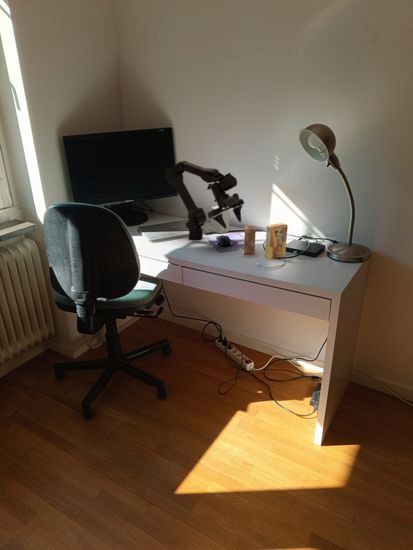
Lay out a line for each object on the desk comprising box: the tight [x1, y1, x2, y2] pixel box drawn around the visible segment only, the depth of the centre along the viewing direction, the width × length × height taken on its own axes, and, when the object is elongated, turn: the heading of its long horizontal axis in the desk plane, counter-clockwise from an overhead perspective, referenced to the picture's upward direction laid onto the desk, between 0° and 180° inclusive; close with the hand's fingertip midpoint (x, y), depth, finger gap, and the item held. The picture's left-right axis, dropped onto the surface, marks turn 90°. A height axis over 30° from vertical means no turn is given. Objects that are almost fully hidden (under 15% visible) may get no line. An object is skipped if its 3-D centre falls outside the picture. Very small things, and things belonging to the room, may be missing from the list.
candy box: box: [264, 222, 289, 260], centre depth 191 cm, size 9×4×15 cm, turn 116°
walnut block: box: [243, 225, 257, 255], centre depth 195 cm, size 5×5×12 cm
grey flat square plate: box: [237, 248, 261, 258], centre depth 198 cm, size 10×10×1 cm
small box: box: [210, 205, 230, 234], centre depth 224 cm, size 8×6×13 cm
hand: (233, 225), depth 198 cm, fingers open, 9 cm apart
